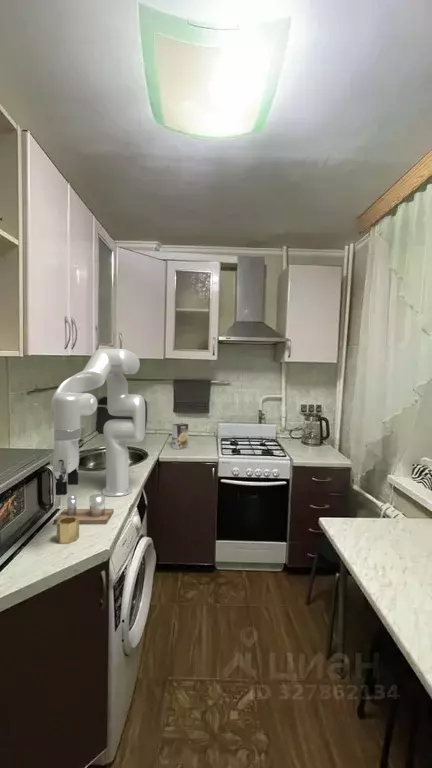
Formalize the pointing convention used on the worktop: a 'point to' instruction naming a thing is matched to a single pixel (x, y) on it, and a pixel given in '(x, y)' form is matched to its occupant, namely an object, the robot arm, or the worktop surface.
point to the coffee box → (179, 436)
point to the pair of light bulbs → (95, 505)
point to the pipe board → (87, 516)
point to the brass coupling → (67, 530)
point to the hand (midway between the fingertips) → (67, 489)
